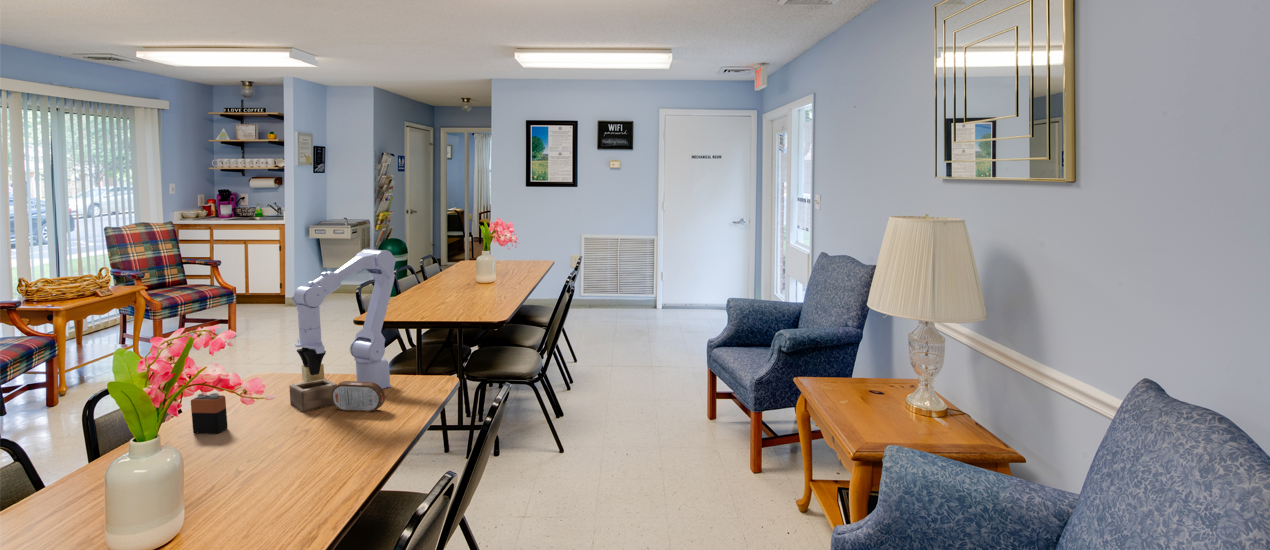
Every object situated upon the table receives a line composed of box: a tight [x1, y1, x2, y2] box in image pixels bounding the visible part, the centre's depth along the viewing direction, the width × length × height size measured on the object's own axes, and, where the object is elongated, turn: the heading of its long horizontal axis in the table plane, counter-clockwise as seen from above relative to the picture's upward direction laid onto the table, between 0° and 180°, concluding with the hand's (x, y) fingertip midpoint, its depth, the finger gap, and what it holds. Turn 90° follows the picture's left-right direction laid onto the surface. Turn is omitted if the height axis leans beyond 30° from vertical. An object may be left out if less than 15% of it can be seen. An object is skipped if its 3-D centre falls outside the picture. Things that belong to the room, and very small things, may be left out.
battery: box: [190, 392, 228, 435], centre depth 178 cm, size 4×7×10 cm, turn 88°
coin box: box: [288, 377, 338, 413], centre depth 200 cm, size 10×9×6 cm
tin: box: [331, 380, 386, 412], centre depth 195 cm, size 15×3×8 cm, turn 84°
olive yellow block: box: [301, 362, 325, 383], centre depth 199 cm, size 5×3×4 cm, turn 136°
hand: (312, 373), depth 199 cm, fingers closed on olive yellow block, 3 cm apart
